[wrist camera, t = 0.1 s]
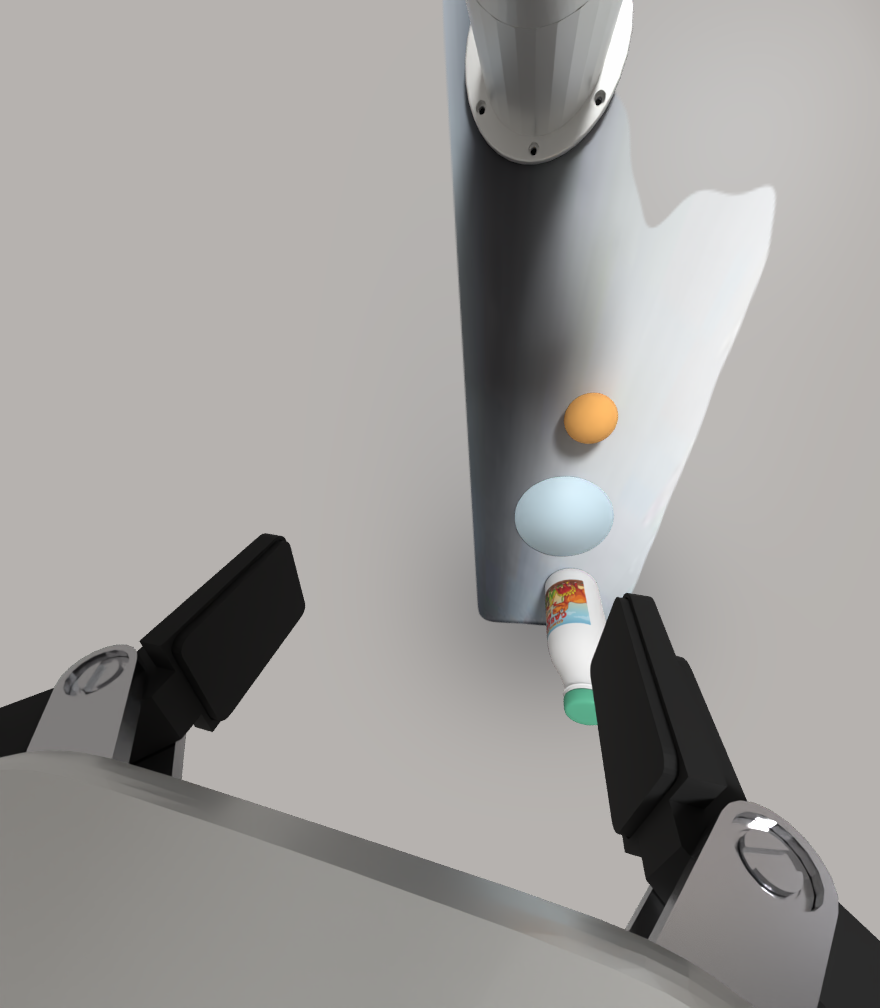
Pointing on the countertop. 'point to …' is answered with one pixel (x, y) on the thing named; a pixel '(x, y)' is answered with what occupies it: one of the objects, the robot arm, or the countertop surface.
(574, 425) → the ball
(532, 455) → the countertop surface
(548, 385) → the countertop surface
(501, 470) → the countertop surface
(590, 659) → the milk bottle
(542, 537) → the disc
